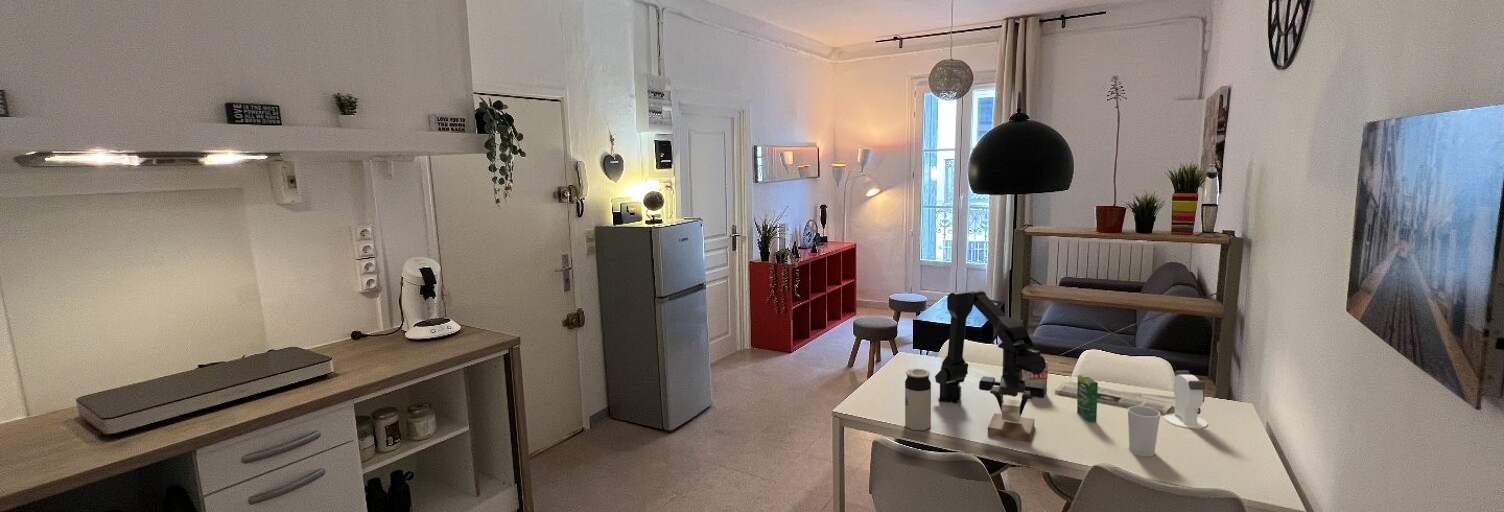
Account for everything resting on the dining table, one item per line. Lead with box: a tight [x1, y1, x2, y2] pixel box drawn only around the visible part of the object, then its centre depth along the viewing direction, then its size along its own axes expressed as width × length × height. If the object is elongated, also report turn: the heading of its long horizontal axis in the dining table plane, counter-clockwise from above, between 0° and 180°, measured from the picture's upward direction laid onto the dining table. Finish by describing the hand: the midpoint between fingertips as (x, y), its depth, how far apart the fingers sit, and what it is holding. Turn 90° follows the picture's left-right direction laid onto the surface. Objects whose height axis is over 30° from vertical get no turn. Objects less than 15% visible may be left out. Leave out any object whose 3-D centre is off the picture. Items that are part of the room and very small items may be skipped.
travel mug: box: [904, 368, 932, 431], centre depth 210 cm, size 8×8×18 cm
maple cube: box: [1001, 398, 1022, 422], centre depth 204 cm, size 5×5×5 cm
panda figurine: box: [1163, 370, 1208, 430], centre depth 206 cm, size 12×11×15 cm
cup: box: [1127, 406, 1161, 457], centre depth 187 cm, size 8×8×12 cm
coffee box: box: [1076, 374, 1099, 423], centre depth 212 cm, size 8×3×13 cm, turn 0°
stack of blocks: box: [1022, 360, 1049, 396], centre depth 243 cm, size 21×6×12 cm, turn 178°
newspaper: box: [1054, 381, 1176, 416], centre depth 227 cm, size 35×12×4 cm, turn 50°
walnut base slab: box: [987, 412, 1035, 443], centre depth 205 cm, size 12×12×2 cm
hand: (1011, 413), depth 204 cm, fingers closed on maple cube, 5 cm apart
